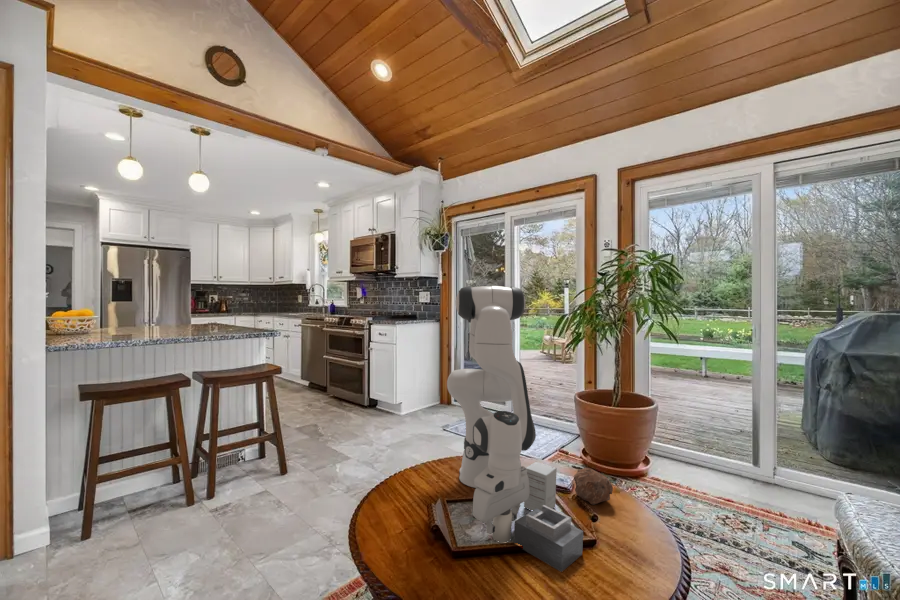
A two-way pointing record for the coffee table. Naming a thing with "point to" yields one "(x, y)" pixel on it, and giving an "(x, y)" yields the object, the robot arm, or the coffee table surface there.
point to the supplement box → (541, 486)
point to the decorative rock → (592, 486)
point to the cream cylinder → (503, 526)
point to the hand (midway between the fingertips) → (501, 525)
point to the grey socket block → (549, 537)
